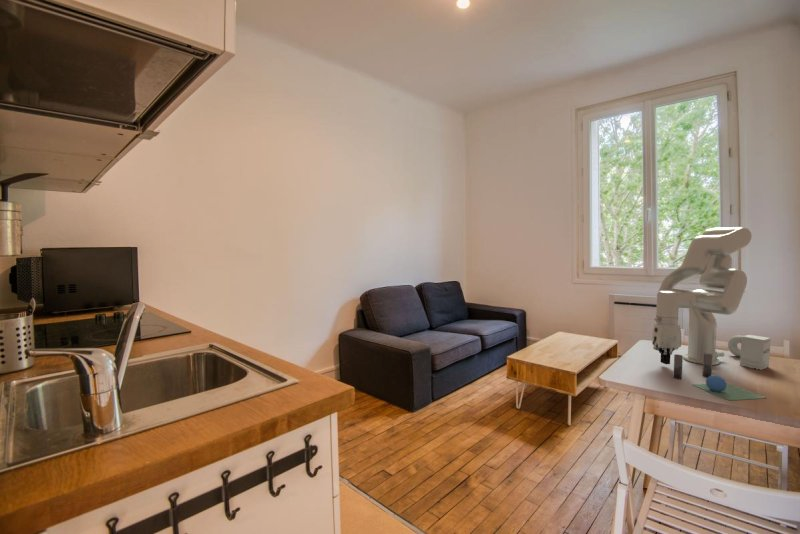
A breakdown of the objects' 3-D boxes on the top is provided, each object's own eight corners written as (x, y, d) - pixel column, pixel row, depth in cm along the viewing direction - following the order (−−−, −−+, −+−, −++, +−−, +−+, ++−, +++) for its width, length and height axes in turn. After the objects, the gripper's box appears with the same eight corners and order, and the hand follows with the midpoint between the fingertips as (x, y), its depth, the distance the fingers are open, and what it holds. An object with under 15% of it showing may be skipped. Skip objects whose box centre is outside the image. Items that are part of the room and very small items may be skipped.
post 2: (706, 375, 150) (707, 352, 149) (713, 377, 147) (714, 354, 147) (700, 375, 150) (701, 353, 149) (707, 378, 147) (708, 355, 146)
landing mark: (725, 383, 142) (725, 382, 142) (766, 398, 128) (766, 397, 128) (692, 385, 140) (692, 384, 140) (729, 400, 126) (729, 400, 126)
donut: (755, 360, 169) (757, 337, 168) (750, 360, 168) (751, 338, 167) (730, 353, 178) (731, 332, 178) (725, 354, 177) (726, 333, 177)
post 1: (677, 376, 148) (678, 354, 148) (683, 379, 146) (684, 356, 145) (671, 377, 148) (672, 354, 147) (677, 379, 145) (678, 356, 145)
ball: (732, 390, 130) (721, 394, 134) (727, 374, 133) (716, 379, 137) (715, 388, 130) (704, 392, 135) (710, 372, 133) (700, 376, 138)
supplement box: (761, 370, 155) (763, 340, 154) (739, 365, 162) (740, 336, 161) (769, 367, 159) (771, 337, 158) (747, 362, 165) (748, 334, 164)
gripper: (657, 322, 155) (656, 367, 156) (690, 321, 157) (688, 365, 158) (643, 319, 162) (642, 361, 163) (675, 318, 164) (673, 359, 165)
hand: (665, 363), depth 160 cm, fingers closed
